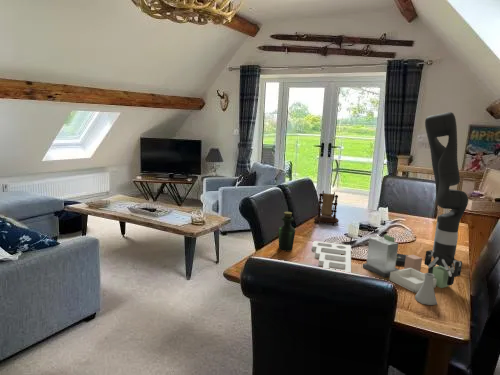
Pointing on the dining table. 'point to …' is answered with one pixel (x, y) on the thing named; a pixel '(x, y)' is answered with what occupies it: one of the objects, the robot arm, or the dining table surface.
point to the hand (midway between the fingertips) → (439, 280)
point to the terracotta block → (413, 262)
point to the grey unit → (382, 255)
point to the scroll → (327, 209)
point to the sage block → (440, 276)
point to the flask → (427, 291)
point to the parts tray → (409, 279)
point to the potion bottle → (286, 233)
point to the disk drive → (401, 259)
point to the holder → (333, 255)
